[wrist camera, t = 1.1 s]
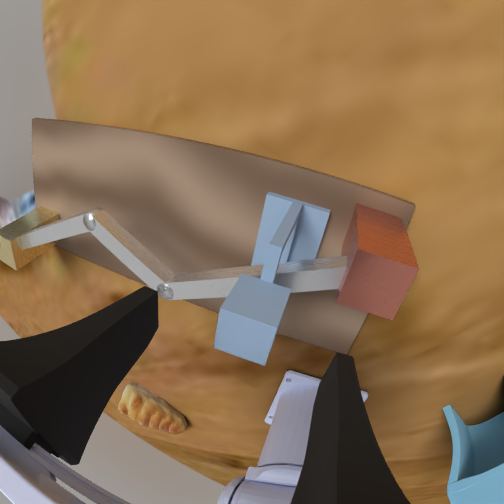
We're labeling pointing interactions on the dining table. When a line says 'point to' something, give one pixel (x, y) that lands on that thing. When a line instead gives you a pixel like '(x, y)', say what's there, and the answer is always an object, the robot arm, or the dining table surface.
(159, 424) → the pastry
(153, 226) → the tan flat sheet
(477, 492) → the vase
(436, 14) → the dining table surface
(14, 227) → the jointed linkage mechanism
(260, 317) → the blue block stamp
